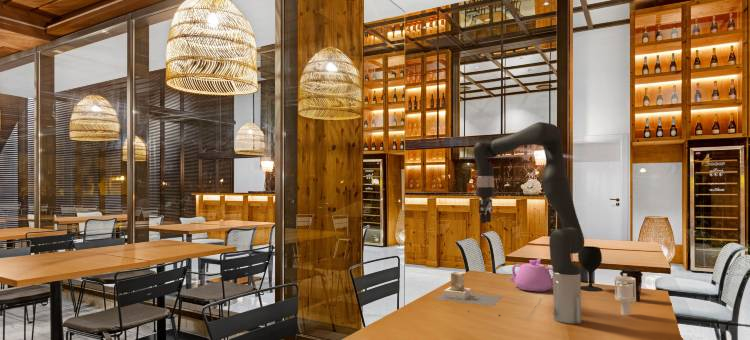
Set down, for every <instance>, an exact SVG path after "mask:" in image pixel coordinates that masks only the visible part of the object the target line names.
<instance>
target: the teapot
mask: <svg viewBox="0 0 750 340" xmlns="http://www.w3.org/2000/svg"><path fill="white" fill-rule="evenodd" d="M541 260H542V258H541V257H538V258H537V259H535V260H534V259H530V260H529V263H522V264H519V263H517V264H513V265H512V267H511V271H512V276H511V277H510V281H511V282H512V283H515V285H516V287H517V288H518V289H520V290H522V291H529V292H537V293H542V292H547V291H550V289H551V288H553V276H551V273H550V272H549V270H551V271H552V272H553V267H552V266H545V265H544V264H541ZM516 267H518V268H519V269H518V270H517V271H516V270H515V269H516Z"/></svg>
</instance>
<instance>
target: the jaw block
mask: <svg viewBox="0 0 750 340" xmlns="http://www.w3.org/2000/svg"><path fill="white" fill-rule="evenodd" d="M450 287H451V291H461V292H463V291H464V288H465V273H464V272H457V271H453V272H451V273H450Z"/></svg>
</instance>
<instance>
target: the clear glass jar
mask: <svg viewBox="0 0 750 340" xmlns="http://www.w3.org/2000/svg"><path fill="white" fill-rule="evenodd" d="M622 282H623V283H622ZM627 283H634V290H633V284H630V285H629V284H627ZM623 284H627V285H623ZM622 285H623V286H622ZM614 299H615V300H616V301H619V302H620V312H621V313H620V314H621V315H623V316H628V315H629V316H631V303H634V302H635V303H636V302H637V301H636V280H635V278H632V277H627V274H623V276H621V275H617V276H616V275H615V276H614Z"/></svg>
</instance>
